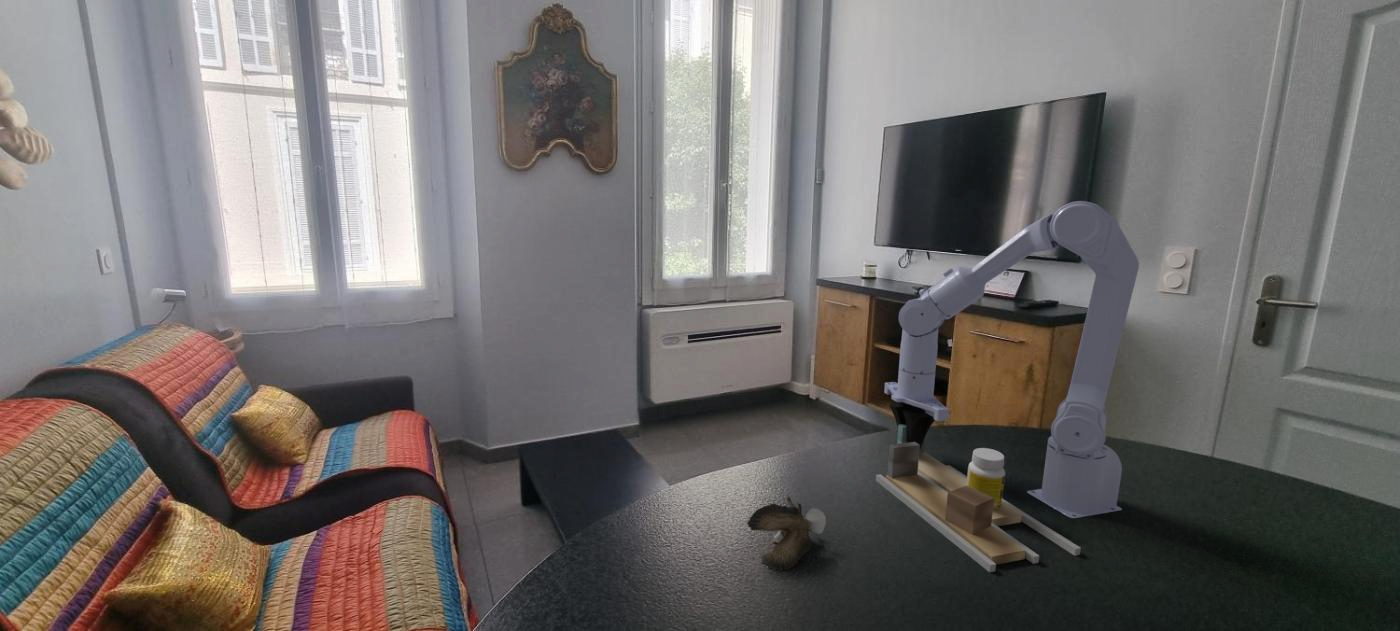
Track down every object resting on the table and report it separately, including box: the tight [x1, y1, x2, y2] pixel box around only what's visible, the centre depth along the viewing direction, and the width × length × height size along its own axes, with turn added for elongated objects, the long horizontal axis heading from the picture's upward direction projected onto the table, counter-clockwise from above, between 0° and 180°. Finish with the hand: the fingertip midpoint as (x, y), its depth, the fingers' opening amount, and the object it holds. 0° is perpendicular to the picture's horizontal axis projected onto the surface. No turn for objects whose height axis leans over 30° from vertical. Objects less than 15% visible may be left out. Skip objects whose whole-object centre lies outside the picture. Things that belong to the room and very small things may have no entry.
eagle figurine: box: [746, 495, 827, 571], centre depth 72 cm, size 8×7×9 cm
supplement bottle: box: [966, 447, 1006, 509], centre depth 81 cm, size 5×5×8 cm
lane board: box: [875, 465, 1081, 573], centre depth 81 cm, size 14×24×2 cm, turn 16°
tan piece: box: [896, 424, 1022, 527], centre depth 88 cm, size 5×22×6 cm, turn 16°
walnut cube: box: [945, 485, 994, 535], centre depth 76 cm, size 4×4×4 cm
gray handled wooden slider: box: [885, 442, 1026, 565], centre depth 79 cm, size 5×22×6 cm, turn 16°
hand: (910, 446), depth 98 cm, fingers closed
